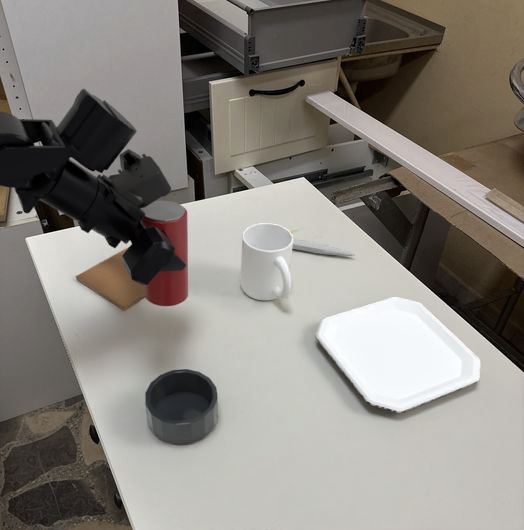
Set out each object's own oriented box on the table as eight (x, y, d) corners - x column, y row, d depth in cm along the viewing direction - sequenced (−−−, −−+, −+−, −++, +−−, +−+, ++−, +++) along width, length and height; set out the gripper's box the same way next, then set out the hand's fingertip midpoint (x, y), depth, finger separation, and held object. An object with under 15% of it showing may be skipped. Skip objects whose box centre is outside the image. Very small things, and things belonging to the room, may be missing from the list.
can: (157, 311, 74) (152, 225, 66) (136, 289, 78) (129, 205, 69) (196, 298, 77) (196, 214, 69) (175, 278, 81) (172, 196, 73)
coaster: (124, 310, 85) (123, 307, 84) (76, 279, 90) (75, 276, 89) (176, 277, 92) (176, 273, 91) (129, 250, 97) (129, 246, 96)
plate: (406, 300, 91) (409, 290, 90) (490, 382, 79) (496, 372, 77) (304, 332, 84) (305, 322, 83) (378, 428, 71) (382, 418, 70)
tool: (354, 256, 100) (356, 248, 98) (353, 262, 99) (355, 253, 97) (266, 240, 102) (267, 231, 100) (264, 245, 101) (265, 236, 99)
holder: (148, 448, 67) (145, 427, 64) (148, 393, 73) (145, 371, 70) (220, 441, 68) (220, 420, 65) (213, 388, 75) (213, 366, 72)
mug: (306, 308, 88) (315, 257, 81) (263, 321, 85) (267, 269, 78) (273, 268, 96) (278, 218, 88) (232, 279, 93) (233, 228, 85)
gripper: (151, 180, 55) (242, 246, 67) (102, 113, 66) (187, 180, 78) (88, 259, 57) (186, 309, 69) (51, 181, 69) (140, 236, 81)
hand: (175, 254), depth 74 cm, fingers closed on can, 6 cm apart
